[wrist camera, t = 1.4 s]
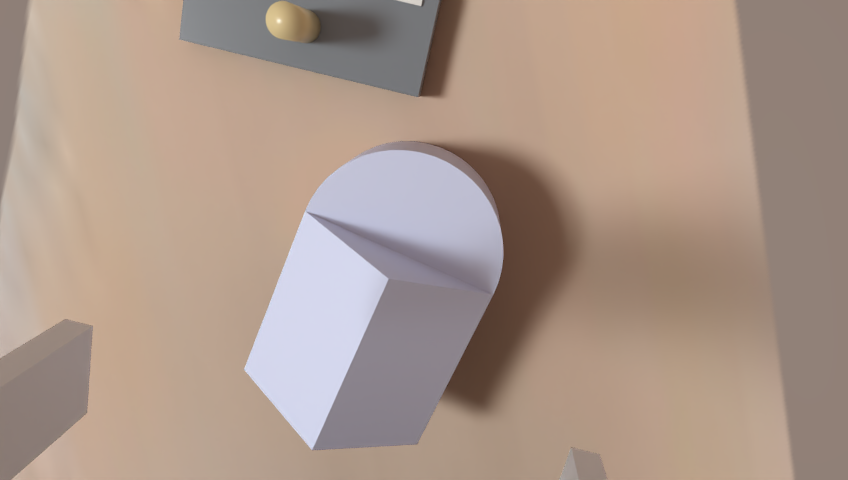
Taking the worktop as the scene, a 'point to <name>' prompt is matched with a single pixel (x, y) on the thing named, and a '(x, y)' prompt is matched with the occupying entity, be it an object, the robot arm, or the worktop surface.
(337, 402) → the wedge on round base
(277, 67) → the worktop surface
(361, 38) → the pin plate
